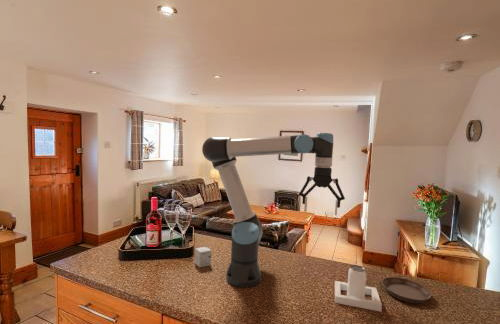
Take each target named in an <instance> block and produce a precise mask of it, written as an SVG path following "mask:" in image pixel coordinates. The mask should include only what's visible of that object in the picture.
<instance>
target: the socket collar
mask: <svg viewBox="0 0 500 324" xmlns="http://www.w3.org/2000/svg"><path fill="white" fill-rule="evenodd" d="M347 286H348V282H344V281H339V280H334V303H335V304H341V305H345V306H351V307H354V308H355V307H356V308H361V309H365V310H366V309H367V310H371V311H376V312H381V313H382V308H383V304H382V301H381V298H380V296H379V292H378V290H377V287H373V286H367V285H366V286H365V296H370V297H371V299H366V298H365V299H362V298H356V297H351V296H347V295H344V294H342V293H341V291H345V292H347Z"/></svg>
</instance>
